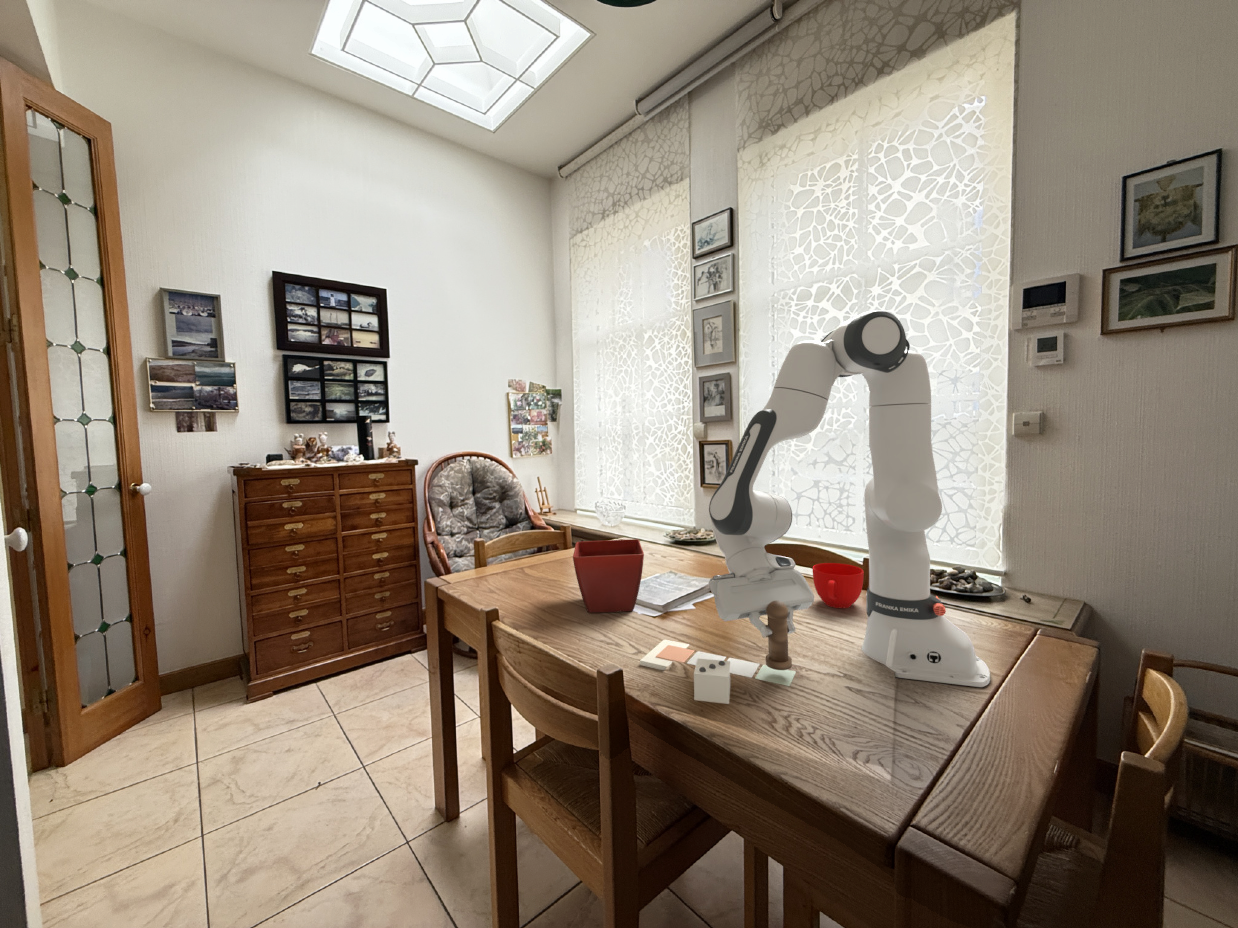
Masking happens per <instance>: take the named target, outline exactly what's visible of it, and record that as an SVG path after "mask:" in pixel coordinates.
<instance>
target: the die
mask: <svg viewBox="0 0 1238 928" xmlns="http://www.w3.org/2000/svg"><path fill="white" fill-rule="evenodd" d="M693 690H694V691H693V692H694V694H693V695H694V697H693V699H694V701H697V702H698V701H700V702H707V703H708V702H709V703H716V704H725V705H730V697H731V673H730V661H727V660H724V661H720V660H709V659H698V658H697V662H696V665H695V668H694V671H693Z"/></svg>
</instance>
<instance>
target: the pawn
mask: <svg viewBox="0 0 1238 928" xmlns="http://www.w3.org/2000/svg"><path fill="white" fill-rule="evenodd" d="M766 613H767V615H766V616H767V625H770V627H771V630H772V633H773V634H772V635H771V636H770V637H767V642H768V643H767V646H768V647H767V648H768V654H766V655H765V665H767V666H768V667H769V668H772V669H775V670H790V669H791V668H792V667H793V660H792V657H791V656H790V655H789V635H788V629H787V616H788V609H787V607H786V605H785V604H784V603H782V602H780V601H772V602H770V603H769V604H768V606H767V609H766Z"/></svg>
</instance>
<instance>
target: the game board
mask: <svg viewBox="0 0 1238 928" xmlns="http://www.w3.org/2000/svg"><path fill="white" fill-rule="evenodd" d="M689 646H690V644H689V643H684V642H678V641H674V640H669V639H665V638H664V639H663V640H661V641H660V642H659V643H658V644H657V645H656V646H655V647H654V648H652V650H650V651H649V652H648V653H647V654H646V655H644V656H643V657H642V658H641V659H640V660H639V665H640V666H644V667H647V668H651V669H656V670H659V671H663V672H664V671H665V670H666V669H667V668H668V667H669V666H670V665H672V663H673V662H677V663H685V662H686V661H687V660H688V659H689V658H690V659H689V660H688V661H687V662H686V664H687V665H692V666H696V662H697V658H698V659H709V660H720V661H730V674H733V675H737V676H743V677H746V678H751V679H752V678H753V677H754V675H755V673H756V672H757V670H758V669H759V667H760V665H761V663H758V662H757V663H756V662H753V661H748V660H743V659H739V658H738V659H737V658H733V657H728V659H727V660H726V658H727V656H723V655H720V654H719V655H718V654H714V653H709V652H704V651H700V650H698V651H696V650H694V649H689V648H688V647H689ZM695 651H696V652H695ZM694 652H695V653H694ZM692 655H693V656H692ZM691 656H692V657H691ZM796 673H797V671H795V670H790V669H787V670H775V669H772V668H769V667H768V666H767V665H766V664H762V666H761V667H760V669H759V671H758V672H757V674H756V676H755V677H754V679H755V680H761V681H763V682H764V681H765V682H769V683H773V684H777V685H783V686H785V687H786V686H787V687H791V684H792V682H793V679H794V678H795V675H796Z"/></svg>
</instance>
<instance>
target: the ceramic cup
mask: <svg viewBox="0 0 1238 928" xmlns="http://www.w3.org/2000/svg"><path fill="white" fill-rule="evenodd" d="M864 575H865V573H864V570H863V569H862V568H861V567H859V566H856V565H852V564H847V563H836V562H823V563H817V564H815V565H813V566H812V578H813V579H812V580H813V585H814V588H815V591H816V593H817V595H818V596H819V598H820V599H821V600H822V602H824V604H825V605H826V606H828V607H831V608H835V609H848V608H851V607H852V606H853V605H854V603H856V601H857V600H858V599H859V598H860V596H861V593H862V591H863V587H864V585H863V584H864Z"/></svg>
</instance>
